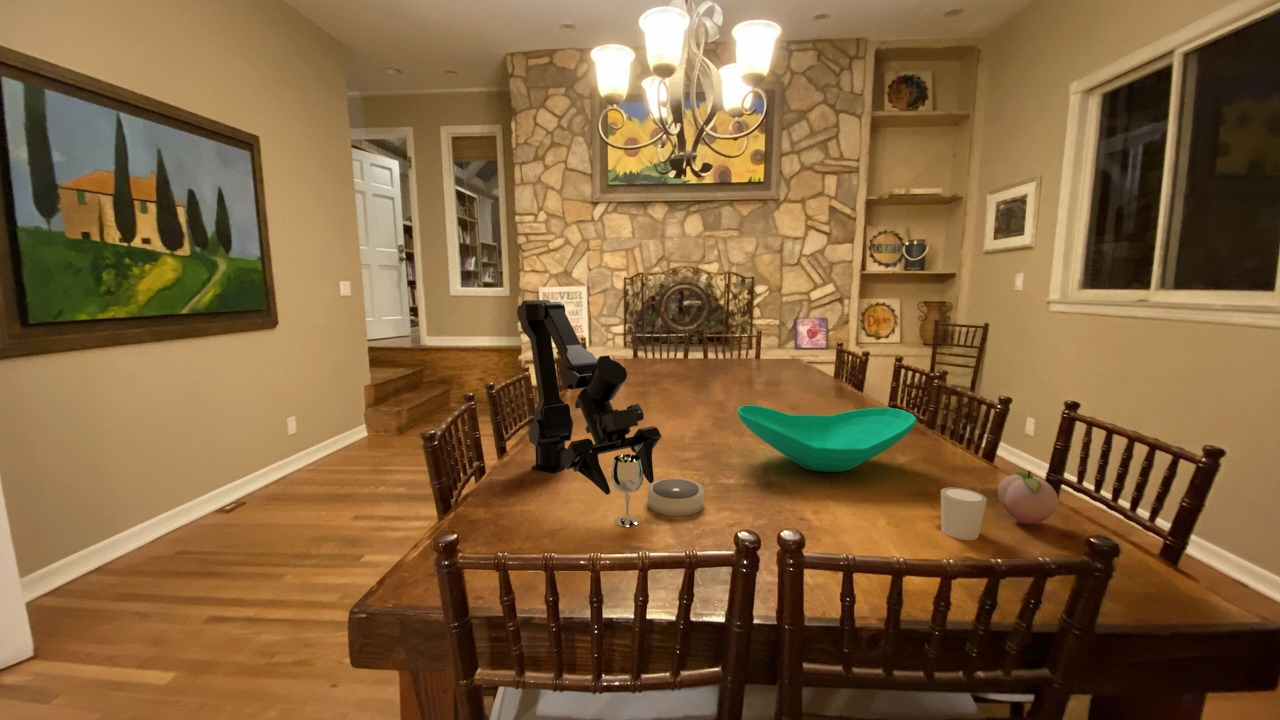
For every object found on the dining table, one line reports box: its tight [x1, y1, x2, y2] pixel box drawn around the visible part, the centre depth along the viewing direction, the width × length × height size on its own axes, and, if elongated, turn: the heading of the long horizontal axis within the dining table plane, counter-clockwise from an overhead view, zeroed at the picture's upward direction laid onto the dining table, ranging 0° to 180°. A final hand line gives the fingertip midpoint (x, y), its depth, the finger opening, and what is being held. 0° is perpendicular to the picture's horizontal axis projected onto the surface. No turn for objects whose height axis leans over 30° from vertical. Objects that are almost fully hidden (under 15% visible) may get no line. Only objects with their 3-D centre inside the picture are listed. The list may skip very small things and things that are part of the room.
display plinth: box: [647, 478, 705, 517], centre depth 103 cm, size 11×11×3 cm
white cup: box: [940, 486, 987, 541], centre depth 92 cm, size 7×7×7 cm
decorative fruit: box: [997, 470, 1059, 525], centre depth 95 cm, size 9×8×10 cm
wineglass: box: [610, 453, 644, 528], centre depth 95 cm, size 6×6×12 cm
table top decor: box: [736, 404, 918, 473], centre depth 123 cm, size 40×28×13 cm
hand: (630, 487), depth 94 cm, fingers open, 9 cm apart
